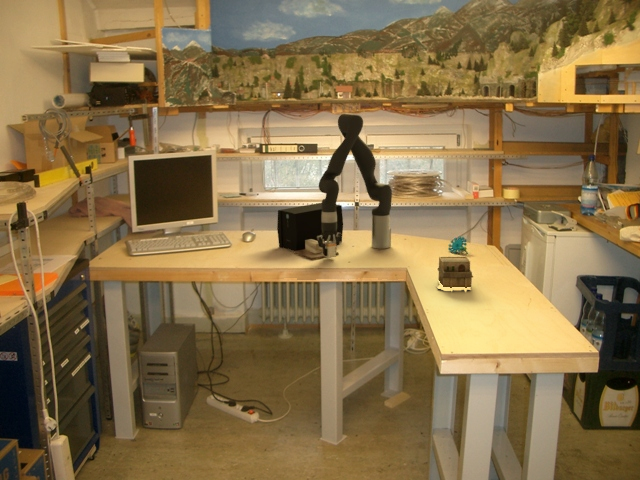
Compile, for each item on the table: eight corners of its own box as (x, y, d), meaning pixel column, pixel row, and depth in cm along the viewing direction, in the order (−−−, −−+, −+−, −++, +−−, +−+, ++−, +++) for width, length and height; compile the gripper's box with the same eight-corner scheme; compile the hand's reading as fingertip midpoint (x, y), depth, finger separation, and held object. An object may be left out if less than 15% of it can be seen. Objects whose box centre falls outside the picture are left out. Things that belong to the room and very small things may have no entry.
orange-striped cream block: (330, 254, 299) (330, 241, 298) (335, 256, 296) (335, 243, 294) (323, 256, 297) (323, 242, 295) (328, 258, 293) (328, 244, 292)
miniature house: (432, 281, 260) (432, 255, 257) (465, 281, 259) (466, 255, 257) (438, 293, 245) (439, 265, 242) (473, 292, 245) (474, 265, 242)
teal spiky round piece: (443, 247, 308) (457, 232, 309) (449, 254, 312) (462, 239, 312) (457, 255, 299) (470, 240, 299) (463, 262, 302) (476, 247, 303)
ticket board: (320, 248, 317) (320, 237, 315) (338, 255, 304) (338, 242, 302) (294, 253, 308) (294, 241, 307) (311, 260, 295) (311, 247, 294)
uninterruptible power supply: (277, 247, 322) (276, 209, 317) (325, 236, 344) (324, 201, 339) (297, 252, 310) (296, 214, 305) (345, 241, 332) (345, 205, 327)
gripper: (336, 217, 299) (337, 251, 303) (312, 221, 291) (313, 255, 295) (345, 219, 293) (345, 254, 297) (321, 223, 285) (321, 259, 289)
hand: (329, 254), depth 296 cm, fingers closed on orange-striped cream block, 4 cm apart
